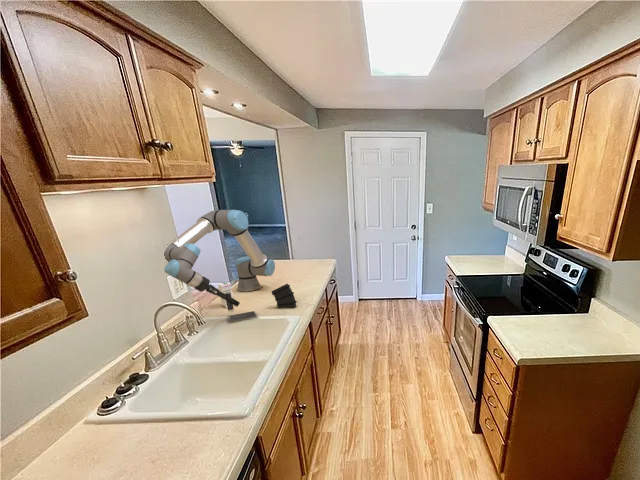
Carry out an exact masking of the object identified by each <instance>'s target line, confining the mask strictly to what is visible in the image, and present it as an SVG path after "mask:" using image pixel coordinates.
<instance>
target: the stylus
mask: <svg viewBox="0 0 640 480" xmlns="http://www.w3.org/2000/svg"><path fill="white" fill-rule="evenodd" d="M225 295H227V296H229V297H231V293H230V292H225ZM231 298H232V297H231ZM226 303H227V312H228V313H232V312H234V311H235V308H234V306H233V304H231V303H230V302H228V301H227V302H226Z"/></svg>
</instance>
